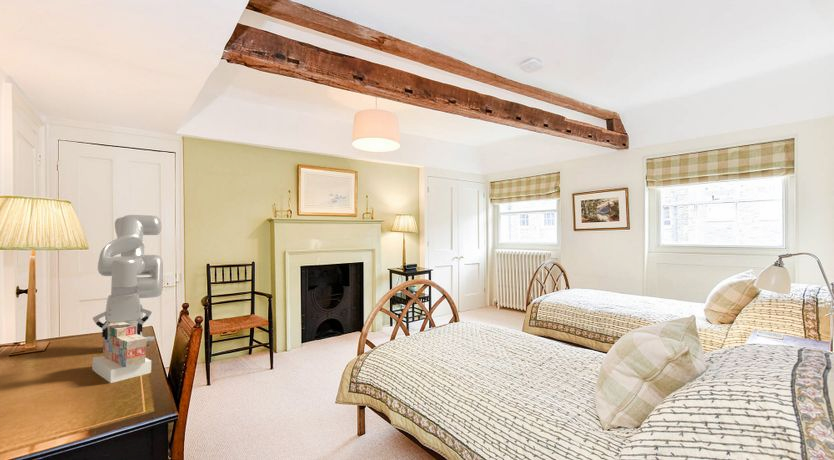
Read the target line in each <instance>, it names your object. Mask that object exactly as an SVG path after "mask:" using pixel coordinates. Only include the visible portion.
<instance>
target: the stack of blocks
mask: <svg viewBox="0 0 834 460" xmlns="http://www.w3.org/2000/svg"><path fill="white" fill-rule="evenodd" d="M107 328H108V339H107V340H105V338H104V337H102V340H103V341H102V342H103V343H102V346H103V347H102V348H103V349H102V356H104V357H106V358H108V359H110V360H112V361H114V362H116V363H118V364H120V365H122V366H124V367H129V366H133V365H137V364H141V363H145V358H146V354H147V342H148V341H147V338H146V337H147V336H144V335H143V336H140V335H138V334H136V326H134V325H131V324H128V323H125V322H117V323H110V324H109V325H108V326H107Z"/></svg>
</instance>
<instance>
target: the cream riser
mask: <svg viewBox="0 0 834 460" xmlns="http://www.w3.org/2000/svg"><path fill="white" fill-rule="evenodd" d="M91 363H92V365H91V366H92V367H91V368H92V369H91V370H92V371H93V372H95V374H97V375H99V376H100V377H101V378H103V379H104V380H105V381H107V382H109V383H110V384H113V383H117V382H121V381H124V380H127V379H132V378H135V377H136V378H137V377H139V376H144V375H148V374H151V373H152V360H151V359H149V358H147V357H145V363H141V364H137V365H133V366H129V367H124V366H122V365H120V364H118V363H116V362H114V361H112V360H110V359H108V358H106V357H104V356H103V355H102V356H95V357H92V362H91Z"/></svg>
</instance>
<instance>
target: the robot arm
mask: <svg viewBox="0 0 834 460" xmlns="http://www.w3.org/2000/svg"><path fill="white" fill-rule="evenodd" d="M162 226H163V225H162V220H161V218H159V217H158V216H156V215H147V214H146V215H145V214H128V215H125V216H122V217H117V218H116V219H115V221H114V230H115V233H116V236H117V237H116V239H114V240H112V241H110V242H108V243H107V244H106V245H105V246H104V247H103V248H102V249H101V251H100V253H99V256H98V257H99V258H98V261H97V271H98V274H100V275H101V276H103V277H111V281H110V282H111V284H110V285H111V287H110V295H108V296H107V299H106V307H105V311H104V312H101V313H99V314H97V315H95V316H93V317H92V321H93V322H94V323H95V325H96V326H98V327H99V328H101V329H102V331H101V333H102V334H101V337H102V338H103V337H104V338H105V340H107V339H108V328H107V326H108V325H109V324H111V323H117V322H125V323H128V324H131V325H134V326H136V334H138V335H140V336H143V337H144V335H143V325H144V323H145V322H146V321H148V320H149V318H150V316H151V315H152V313H153V312H152V311H151V310H148V309H145V308H144V307H143V305H142V304H141V300H140V299H151V298H157V297H160V296H161V295H162V293H163V284H164V283H163V282H164V281H163V280H164V261H163V258H162V256H160V255H157V254H145V245H144V243H143V241H144V240H143V239H144V238H143V236H158V235H160V234H161V232H162ZM117 255H120V256H117ZM138 276H141V277H138ZM144 276H145V277H144ZM144 314H145V315H144ZM103 317H105V321H104V322H102V321H100V319H102V318H103ZM145 337H146V338H147V342H152V341H155V336H153V335H152V336H150V335H149V336H145Z"/></svg>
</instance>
